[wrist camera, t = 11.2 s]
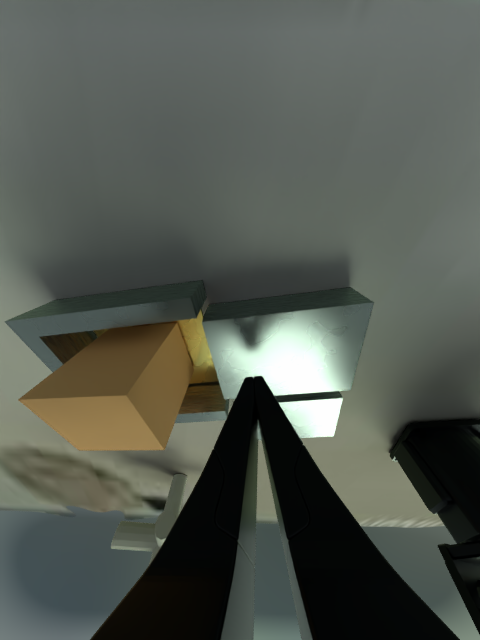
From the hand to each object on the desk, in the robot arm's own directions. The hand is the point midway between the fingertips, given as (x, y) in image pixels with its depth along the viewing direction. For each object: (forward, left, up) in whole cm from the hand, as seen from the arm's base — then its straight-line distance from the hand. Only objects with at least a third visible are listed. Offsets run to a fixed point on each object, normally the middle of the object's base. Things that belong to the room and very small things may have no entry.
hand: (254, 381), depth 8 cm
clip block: (+4, 0, -1) cm, 4 cm away
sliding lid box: (+3, 0, -3) cm, 4 cm away
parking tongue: (-2, +7, -3) cm, 8 cm away
